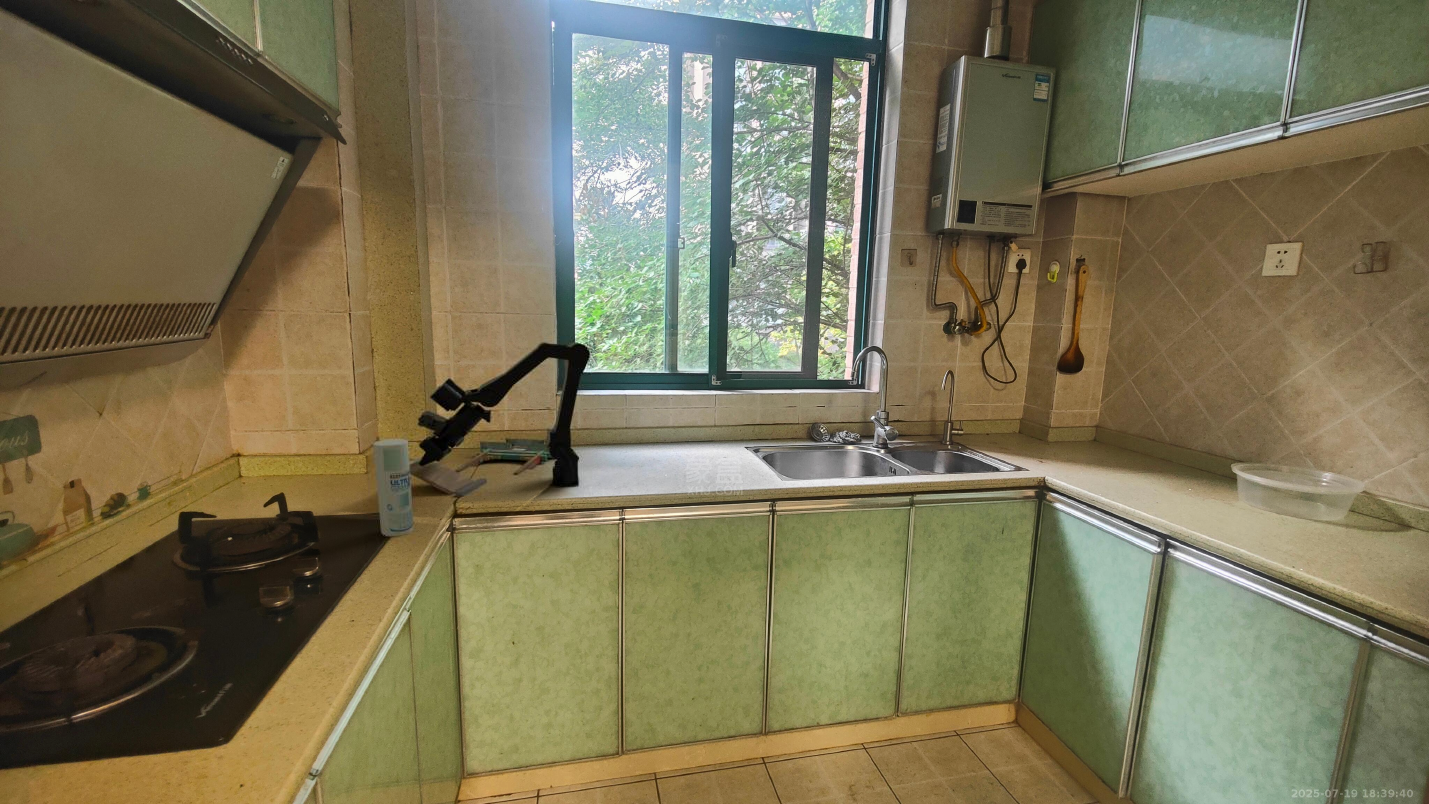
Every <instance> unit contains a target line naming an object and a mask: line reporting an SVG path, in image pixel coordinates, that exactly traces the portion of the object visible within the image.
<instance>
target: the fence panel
mask: <svg viewBox="0 0 1429 804" xmlns="http://www.w3.org/2000/svg"><path fill="white" fill-rule="evenodd" d="M422 457H423V456H421V457H419V458H415V459H413V460H411V461H409V466H410V476H414V477H415V478H417V479H419V480H421V481H423V482H425V483H427V484H428V485H430V486H433V487H435V488H436V489H439V490H440V491H441V492H444V493H446V494H448V495H452V496H453V495H455V492H456V491H458V490H460V489H461V488H463V487H465V486H467V485H469V484H471V483H472V482H474V481H475V480H473V479H471V478H469V477H468V476H466V475H465V474H461V472H456V471H455V469H454V470H453V469H452V468H451V467H448V466H446V465H444V464H443V463H440V461H439V462H438V461H434V462H431V463H429V464H427V465H424V466H420V465H419V462H420V460H421V459H422Z"/></svg>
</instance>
